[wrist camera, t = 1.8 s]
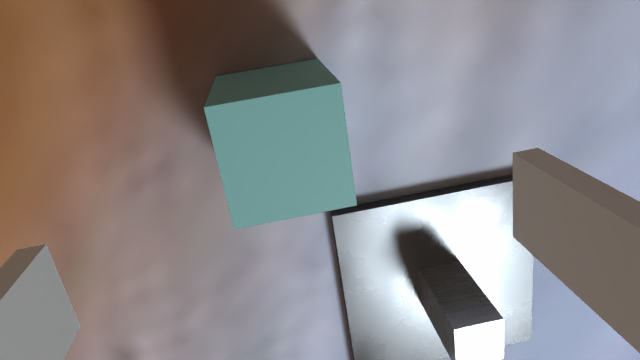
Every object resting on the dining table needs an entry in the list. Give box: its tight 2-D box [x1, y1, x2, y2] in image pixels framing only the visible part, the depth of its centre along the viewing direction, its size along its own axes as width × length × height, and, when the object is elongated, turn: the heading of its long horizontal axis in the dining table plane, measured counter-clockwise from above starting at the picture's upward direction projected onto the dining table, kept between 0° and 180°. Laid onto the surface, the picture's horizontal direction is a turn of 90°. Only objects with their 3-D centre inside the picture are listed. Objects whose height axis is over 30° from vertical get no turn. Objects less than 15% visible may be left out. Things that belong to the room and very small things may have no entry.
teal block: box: [204, 58, 357, 229], centre depth 22 cm, size 5×5×7 cm
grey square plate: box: [330, 175, 533, 360], centre depth 28 cm, size 12×12×6 cm
